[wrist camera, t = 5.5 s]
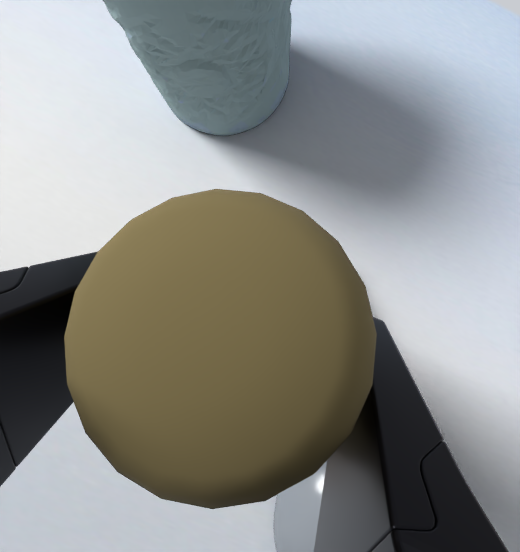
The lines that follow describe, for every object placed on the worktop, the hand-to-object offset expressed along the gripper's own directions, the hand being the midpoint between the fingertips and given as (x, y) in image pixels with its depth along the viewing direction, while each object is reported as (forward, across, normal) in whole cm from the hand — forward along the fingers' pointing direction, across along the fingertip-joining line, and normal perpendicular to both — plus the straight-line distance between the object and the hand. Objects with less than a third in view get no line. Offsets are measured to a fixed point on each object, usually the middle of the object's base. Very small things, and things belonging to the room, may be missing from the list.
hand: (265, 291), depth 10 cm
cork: (+4, 0, +6) cm, 7 cm away
